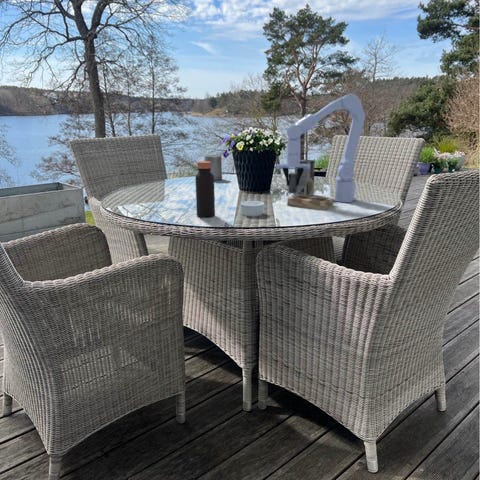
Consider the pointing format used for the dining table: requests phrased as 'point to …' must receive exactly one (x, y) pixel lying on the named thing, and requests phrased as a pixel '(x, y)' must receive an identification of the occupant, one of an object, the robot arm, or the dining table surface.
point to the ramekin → (252, 208)
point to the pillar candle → (215, 166)
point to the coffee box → (306, 179)
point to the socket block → (310, 202)
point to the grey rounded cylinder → (292, 182)
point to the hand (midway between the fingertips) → (292, 185)
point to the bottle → (205, 190)
